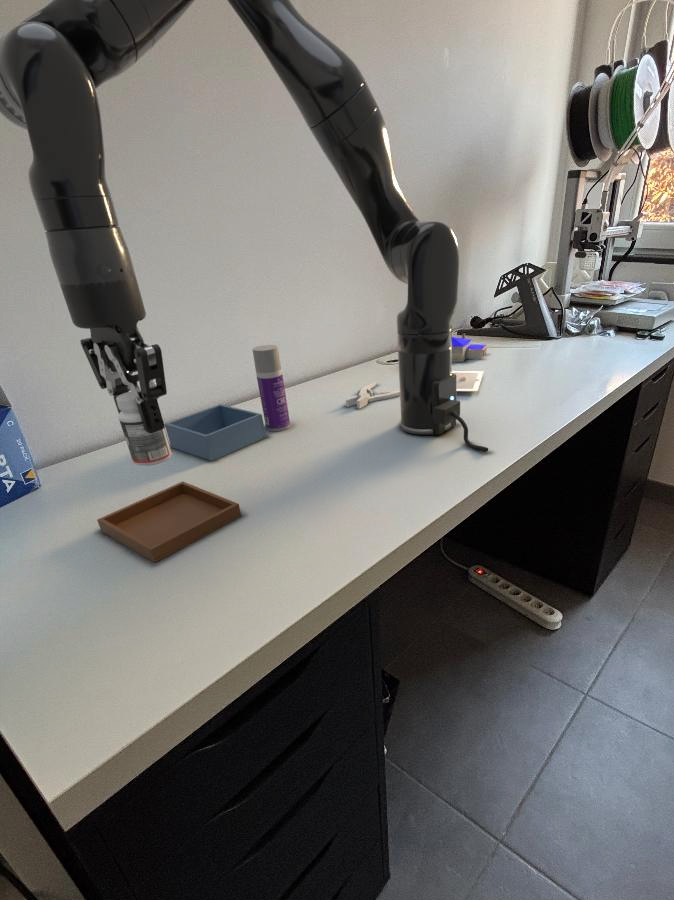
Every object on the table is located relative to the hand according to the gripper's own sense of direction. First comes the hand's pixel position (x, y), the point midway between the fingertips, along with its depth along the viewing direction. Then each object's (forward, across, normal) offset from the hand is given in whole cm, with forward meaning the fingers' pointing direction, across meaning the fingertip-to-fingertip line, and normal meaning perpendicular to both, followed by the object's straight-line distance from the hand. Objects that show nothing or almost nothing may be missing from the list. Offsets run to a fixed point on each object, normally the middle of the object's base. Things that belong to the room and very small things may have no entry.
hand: (143, 426), depth 65 cm
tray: (+14, 0, 0) cm, 14 cm away
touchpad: (+14, -3, -72) cm, 73 cm away
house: (+14, +12, -92) cm, 94 cm away
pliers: (+14, +10, -56) cm, 59 cm away
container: (+14, +15, -33) cm, 39 cm away
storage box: (+14, +19, -22) cm, 32 cm away
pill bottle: (+5, 0, 0) cm, 5 cm away
